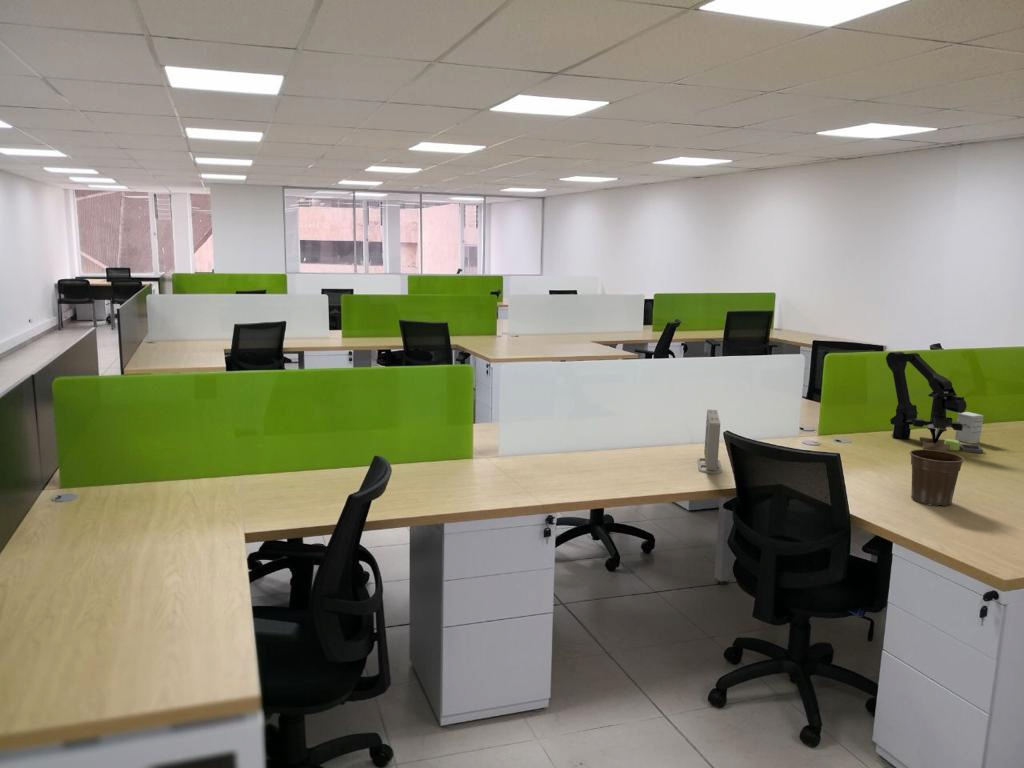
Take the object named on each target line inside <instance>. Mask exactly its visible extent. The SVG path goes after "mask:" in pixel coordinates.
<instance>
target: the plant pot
mask: <svg viewBox="0 0 1024 768" xmlns="http://www.w3.org/2000/svg"><path fill="white" fill-rule="evenodd" d="M909 455H910V465H911V493H910V495H911V496H910V497H911V499H912V498H913V499H912V500H914V501H915V502H917V501H918V502H917V503H920V502H921V503H920V504H923V503H925V504H924V505H927V504H931V505H930V506H935V505H937V506H938V505H940V506H941V505H942V507H947V505H948V506H950V505H951V504H952V503H953V497H954V493H955V489H956V485H957V481H958V476H959V472H960V471H961V467H962V465H963V462H964V461H965V458H964V457H963V456H961V455H958V454H957V453H952V452H950V451H944V450H933V449H923V448H922V449H920V448H919V449H913V450H910V451H909Z"/></svg>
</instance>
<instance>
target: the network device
mask: <svg viewBox="0 0 1024 768" xmlns="http://www.w3.org/2000/svg"><path fill="white" fill-rule="evenodd" d="M720 435H721V419H720V416H719V412H718V410H717V409H707V410H706V422H705V437H704V448H703V449H704V450H703V451H704V457H699V458H697V460H696V461H697V470H698V471H699V473H700V472H701V473H704V474H705V473H706V474H721V473H723V468H722V464H721V463H722V462H721V460H720V459H719V448H720ZM701 461H705V462H701ZM702 468H706V469H702Z"/></svg>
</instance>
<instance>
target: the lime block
mask: <svg viewBox="0 0 1024 768" xmlns="http://www.w3.org/2000/svg"><path fill="white" fill-rule="evenodd" d="M944 444H949V445H950V448H949V451H950V450H951V451H960V448H959V446H960V444H961V441H958V440H955V439H948V438H945V441H944Z"/></svg>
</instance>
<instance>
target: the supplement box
mask: <svg viewBox="0 0 1024 768" xmlns="http://www.w3.org/2000/svg"><path fill="white" fill-rule="evenodd" d="M983 420H984V414H978V413H975V412H970V411H964V412H963V413H957V421H956V422H960V423H961V424H962V425H963V429H962V431H959V430H955V435H954V440H958V441H959V442H963V443H967V444H968V445H971V444H978V443H980V442H981V436H982V435H981V434H982V429H983V422H984V421H983Z"/></svg>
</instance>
